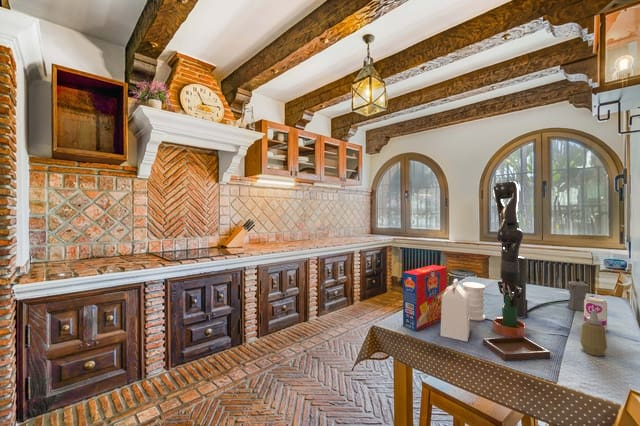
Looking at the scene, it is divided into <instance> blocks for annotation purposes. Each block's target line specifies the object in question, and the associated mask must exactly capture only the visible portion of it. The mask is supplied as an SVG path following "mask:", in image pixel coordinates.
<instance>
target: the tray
mask: <svg viewBox="0 0 640 426" xmlns="http://www.w3.org/2000/svg"><path fill="white" fill-rule="evenodd" d="M482 346H484V347H486V348H487V349H488V350H490V351H491V352H493V353H494V354H495V355H496V356H498V357H499V358H500V359H502V360H503V361H522V360H538V359H540V360H541V359H551V351H550V350H548V349H547V348H545V347H543V346H541V345H539V344H538V343H536V342H534V341H533V340H531V339H529V338H527V337H526V336H525V337H524V336H522V337H506V336H503V337H487V338H482Z"/></svg>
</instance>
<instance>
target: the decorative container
mask: <svg viewBox="0 0 640 426" xmlns="http://www.w3.org/2000/svg"><path fill="white" fill-rule="evenodd" d="M462 288H463V290H465V291H466V293H467V294H468V302H469V320H471V321H484V320H486V315H485V314H484V313H485V310H484V307H485V304H484V300H485V298H484V295H485V289H486V286H485V285H484V284H483V283H478V282H472V281H471V282H470V281H469V282H467V281H466V282H463V283H462Z"/></svg>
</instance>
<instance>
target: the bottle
mask: <svg viewBox="0 0 640 426" xmlns="http://www.w3.org/2000/svg"><path fill="white" fill-rule="evenodd" d="M513 296H514V295H513ZM501 317H502V326H505V327H510V328H517V320H518V317H517V308H516V307H511V306H510V294H506V295H505V304H504V303H503V305H502V307H501Z"/></svg>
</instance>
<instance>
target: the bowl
mask: <svg viewBox="0 0 640 426" xmlns="http://www.w3.org/2000/svg"><path fill="white" fill-rule="evenodd" d="M492 330H493V331H494V332H495V333H496V334H498V335H501V336H503V337H522V336H524V337H525V338H526V335H527V333H526V332H527V326H526V324H525V323H524V322H522V321H520V320H518V319H517V328H510V327H505V326H502V316H501V317H499V316H498V317H493V319H492Z"/></svg>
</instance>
